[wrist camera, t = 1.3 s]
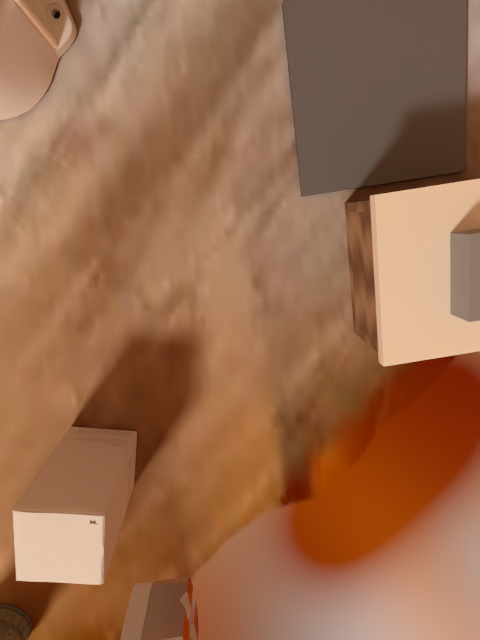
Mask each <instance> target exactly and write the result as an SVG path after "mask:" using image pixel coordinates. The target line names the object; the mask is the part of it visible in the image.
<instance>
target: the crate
mask: <svg viewBox="0 0 480 640" xmlns="http://www.w3.org/2000/svg"><path fill="white" fill-rule="evenodd" d="M345 211H346V225H347V239H348V253H349V266H350V280H351V294H352V308H353V321H354V332H355V333H356V334H357V335H358V336H359V337H361V338H362V339H363V340H364V341H365V342H366V343H368V344H369V345H370V346H371V347H372V348H373V349H374V350H376V351H377V352H378V336H377V318H376V300H375V282H374V264H373V245H372V227H371V209H370V199H369V200H362V201H356V202H350V203H345Z"/></svg>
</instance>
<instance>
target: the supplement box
mask: <svg viewBox="0 0 480 640" xmlns="http://www.w3.org/2000/svg"><path fill="white" fill-rule="evenodd" d="M136 444H137V432H136V431H126V430H113V429H99V428H86V427H70V429H69V430H68V432H67V433H66V435H65V436H64V438H63V439H62V440H61V442H60V443H59V445H58V446H57V447H56V449H55V450H54V452H53V453H52V455H51V456H50V457H49V459H48V460H47V462H46V463H45V465H44V466H43V467H42V469H41V470H40V472H39V473H38V475H37V476H36V477H35V479H34V480H33V482H32V483H31V485H30V486H29V487H28V489H27V490H26V492H25V493H24V495H23V496H22V497H21V499H20V500H19V502H18V503H17V505H16V506H15V507H14V509H13V525H14V547H15V566H16V581H28V582H59V583H76V584H103V582H104V579H105V576H106V573H107V570H108V567H109V564H110V561H111V557H112V554H113V551H114V548H115V545H116V541H117V538H118V535H119V532H120V529H121V525H122V522H123V519H124V516H125V513H126V509H127V506H128V503H129V500H130V497H131V494H132V490H133V487H134V481H135V463H136Z"/></svg>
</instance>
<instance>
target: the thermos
mask: <svg viewBox="0 0 480 640" xmlns="http://www.w3.org/2000/svg"><path fill="white" fill-rule="evenodd" d="M31 630H32V623H31V620H30V618H29V617H28V615H27V614H26V613H25V612H24V611H22V610H21V609H20V608H18V607H15V606H12V605H9V604H1V603H0V640H27V639H28V637H29V636H30V633H31Z"/></svg>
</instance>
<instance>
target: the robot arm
mask: <svg viewBox="0 0 480 640" xmlns="http://www.w3.org/2000/svg"><path fill="white" fill-rule="evenodd" d="M57 12H60V17H59V18H58V19H55V18H54V15H55V13H57ZM76 34H77V30H76V26H75V23H74V20H73V18H72V15H71V13H70V11H69V8H68V6H67V3H66V1H65V0H0V120H4V119H9V118H13V117H16V116H19V115H21V114H23V113H25V112H26V111H28V110H29V109H31V108H32V107H33V106H35V105H36V104H37V103H38V102H39V101H40V99H41V98H42V97H43V96H44V94H45V93H46V91H47V89H48V87H49V85H50V83H51V81H52V78H53V75H54V72H55V69H56V65H57V63H58V61H59V59H60V57H61V56H62V55H63V54H64V53H65V52H66V51H67V49H68V48H69V47H70V46H71V45H72V43H73V42H74V40H75V38H76ZM192 594H193V585H192V581H191V577H184V578H176V579H167V580H159V581H153V582H145V583H137V584H135V586H134V588H133V590H132V594H131V598H130V602H129V606H128V610H127V614H126V618H125V622H124V626H123V630H122V634H121V638H120V640H198V632H199V627H198V610H197V604H196V600H195V599H194V598H193V597H192Z"/></svg>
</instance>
